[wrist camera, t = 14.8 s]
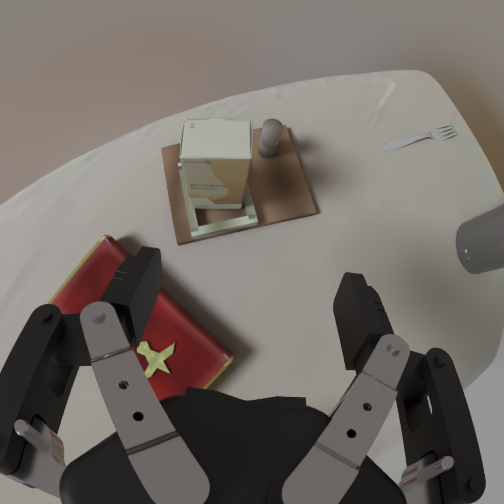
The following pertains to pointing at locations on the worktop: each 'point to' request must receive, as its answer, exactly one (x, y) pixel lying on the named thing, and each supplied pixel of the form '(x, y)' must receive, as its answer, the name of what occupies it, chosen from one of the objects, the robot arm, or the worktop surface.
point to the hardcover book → (150, 327)
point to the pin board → (256, 192)
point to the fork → (401, 143)
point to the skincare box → (216, 161)
